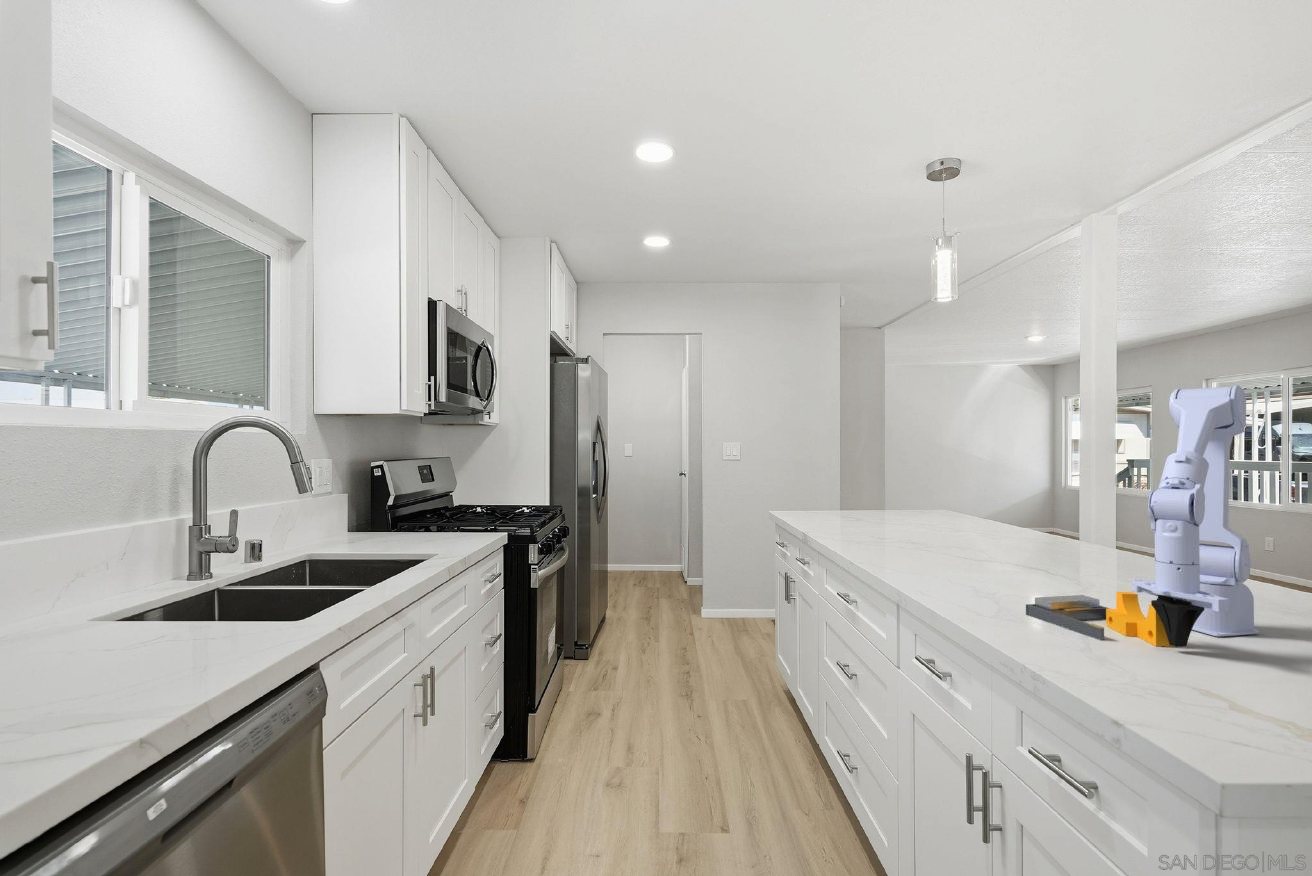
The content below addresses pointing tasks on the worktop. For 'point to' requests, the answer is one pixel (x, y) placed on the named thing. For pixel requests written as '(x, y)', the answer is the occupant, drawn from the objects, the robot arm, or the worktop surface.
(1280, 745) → the worktop surface
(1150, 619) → the notched yellow bracket
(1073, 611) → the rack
